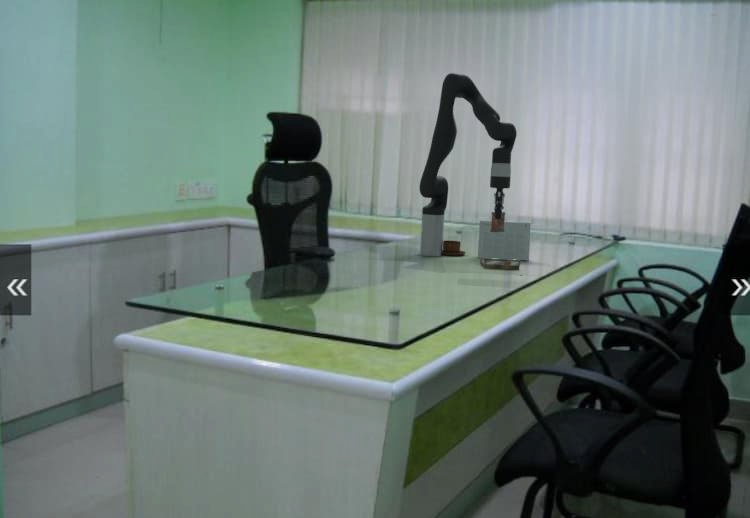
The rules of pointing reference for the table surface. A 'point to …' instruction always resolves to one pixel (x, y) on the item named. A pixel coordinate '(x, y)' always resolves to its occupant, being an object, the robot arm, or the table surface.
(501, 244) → the skincare box
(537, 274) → the table surface
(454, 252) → the cup and saucer
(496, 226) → the lighter
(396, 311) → the table surface
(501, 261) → the shelf board
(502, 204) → the robot arm
